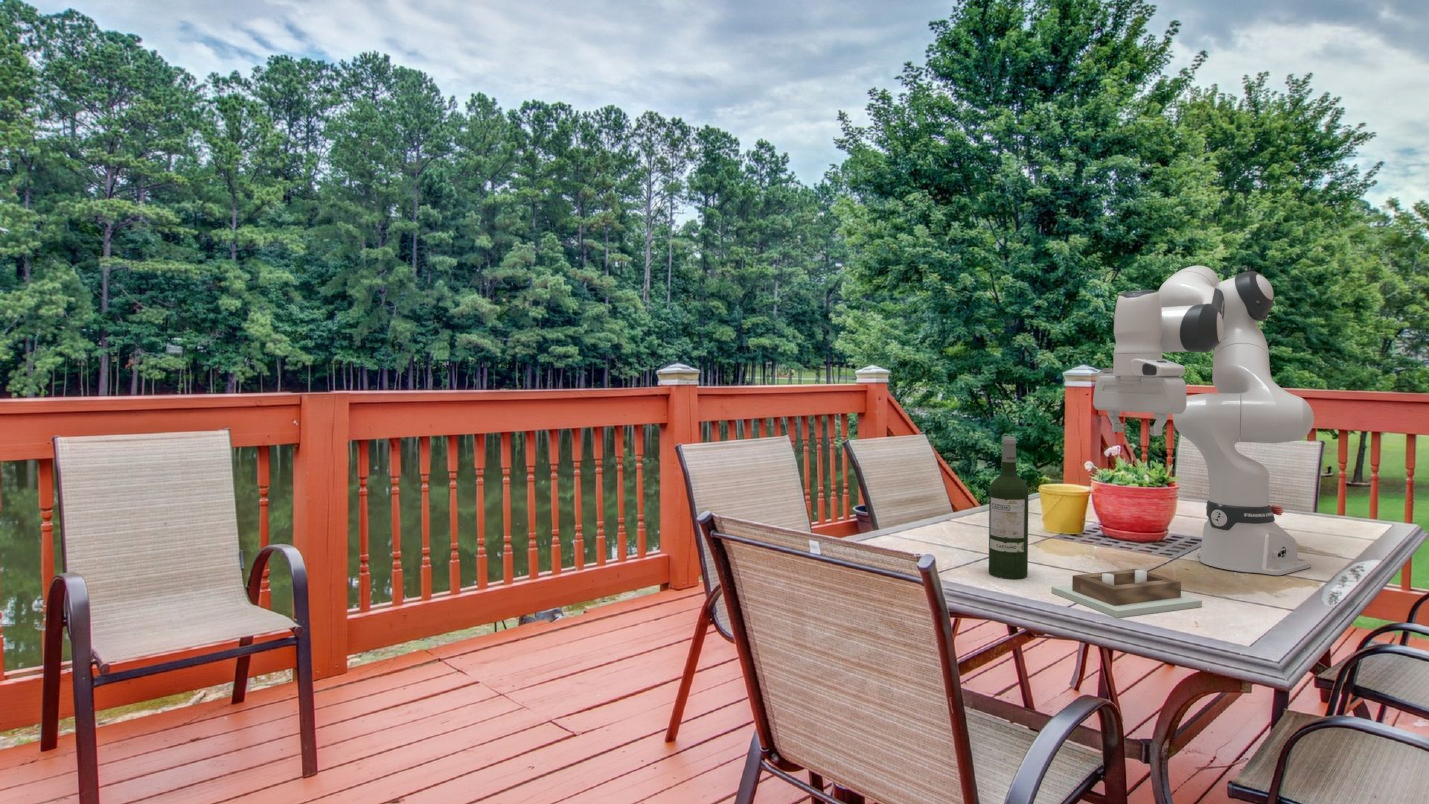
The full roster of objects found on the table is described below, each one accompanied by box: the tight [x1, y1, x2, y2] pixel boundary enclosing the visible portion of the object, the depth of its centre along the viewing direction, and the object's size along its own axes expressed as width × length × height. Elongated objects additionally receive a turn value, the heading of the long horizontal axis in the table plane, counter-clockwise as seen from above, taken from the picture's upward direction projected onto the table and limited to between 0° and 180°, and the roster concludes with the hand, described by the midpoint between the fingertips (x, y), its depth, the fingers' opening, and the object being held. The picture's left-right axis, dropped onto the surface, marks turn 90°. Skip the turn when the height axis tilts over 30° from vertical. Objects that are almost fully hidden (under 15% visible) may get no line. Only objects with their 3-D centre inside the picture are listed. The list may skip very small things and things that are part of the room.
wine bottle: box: [988, 436, 1029, 580], centre depth 160 cm, size 8×8×30 cm
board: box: [1051, 569, 1203, 619], centre depth 143 cm, size 20×16×5 cm
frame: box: [1071, 568, 1182, 606], centre depth 142 cm, size 16×10×3 cm, turn 108°
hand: (1136, 433), depth 155 cm, fingers open, 8 cm apart
